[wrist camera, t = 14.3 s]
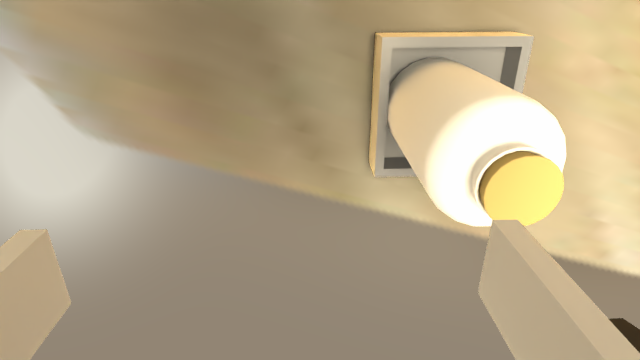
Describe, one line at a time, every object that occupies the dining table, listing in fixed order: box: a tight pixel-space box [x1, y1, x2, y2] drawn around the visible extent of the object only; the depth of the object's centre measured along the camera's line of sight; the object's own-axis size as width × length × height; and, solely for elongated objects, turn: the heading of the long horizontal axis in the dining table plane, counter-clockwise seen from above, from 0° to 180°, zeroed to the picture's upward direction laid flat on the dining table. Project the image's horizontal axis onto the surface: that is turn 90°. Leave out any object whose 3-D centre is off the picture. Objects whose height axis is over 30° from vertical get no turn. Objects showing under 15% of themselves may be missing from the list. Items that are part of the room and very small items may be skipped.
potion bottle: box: [387, 58, 566, 226], centre depth 29 cm, size 8×8×18 cm
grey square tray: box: [369, 32, 534, 177], centre depth 36 cm, size 12×12×4 cm
